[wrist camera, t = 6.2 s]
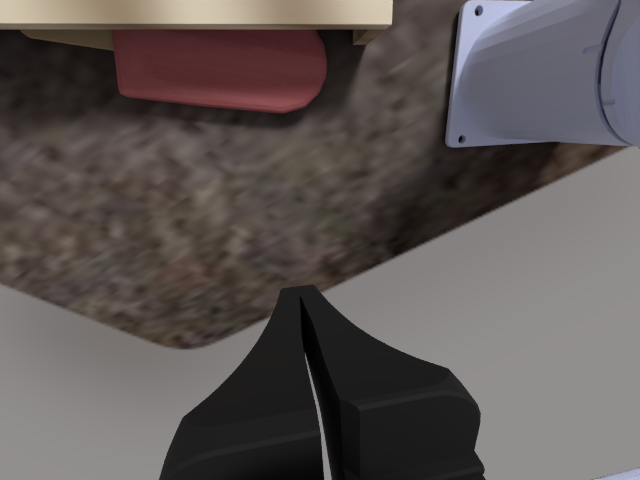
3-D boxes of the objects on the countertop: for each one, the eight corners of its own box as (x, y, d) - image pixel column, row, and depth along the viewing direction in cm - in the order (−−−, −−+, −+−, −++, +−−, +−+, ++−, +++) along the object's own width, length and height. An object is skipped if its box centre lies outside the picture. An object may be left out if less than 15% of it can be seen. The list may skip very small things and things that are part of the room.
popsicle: (-12, -59, 12) (333, 11, 15) (17, -40, 14) (328, 21, 17) (19, 83, 14) (322, 121, 17) (42, 86, 16) (317, 121, 19)
